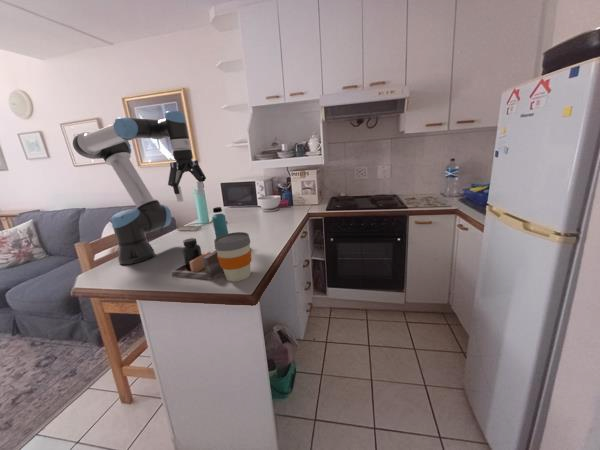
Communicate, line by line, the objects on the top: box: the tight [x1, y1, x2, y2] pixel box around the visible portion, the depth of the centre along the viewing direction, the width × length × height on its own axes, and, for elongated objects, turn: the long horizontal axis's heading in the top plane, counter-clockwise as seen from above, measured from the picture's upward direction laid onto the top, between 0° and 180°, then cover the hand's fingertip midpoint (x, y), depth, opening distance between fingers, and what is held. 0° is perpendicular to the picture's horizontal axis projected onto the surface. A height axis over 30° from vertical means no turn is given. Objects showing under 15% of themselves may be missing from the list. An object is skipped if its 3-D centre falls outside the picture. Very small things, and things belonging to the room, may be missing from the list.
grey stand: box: [171, 249, 224, 281], centre depth 105 cm, size 19×14×9 cm
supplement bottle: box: [181, 237, 202, 271], centre depth 106 cm, size 7×7×12 cm
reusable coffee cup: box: [214, 231, 252, 282], centre depth 96 cm, size 13×12×15 cm
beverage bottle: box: [211, 206, 229, 239], centre depth 130 cm, size 6×7×20 cm
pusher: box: [189, 250, 212, 272], centre depth 106 cm, size 1×11×5 cm, turn 160°
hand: (192, 198), depth 120 cm, fingers open, 13 cm apart
